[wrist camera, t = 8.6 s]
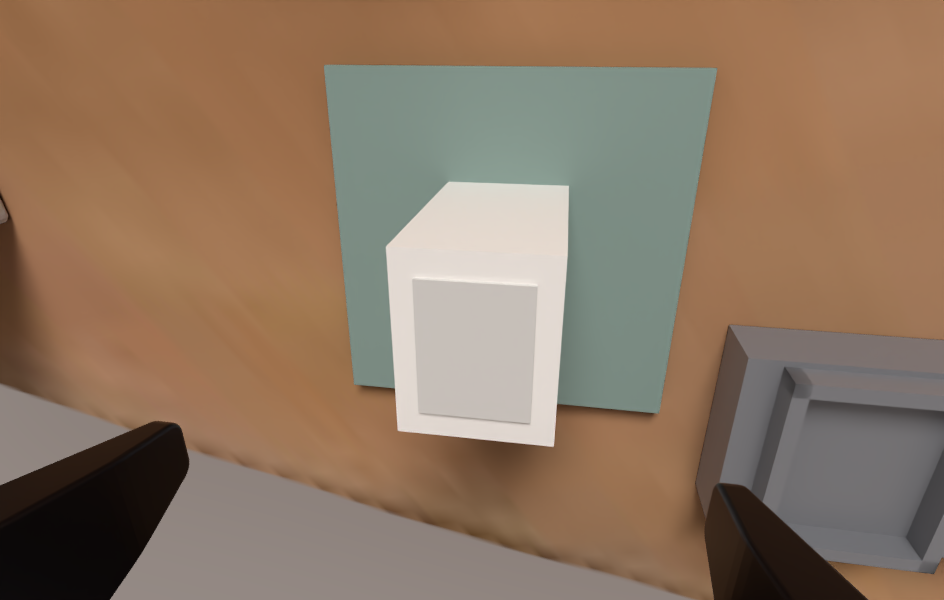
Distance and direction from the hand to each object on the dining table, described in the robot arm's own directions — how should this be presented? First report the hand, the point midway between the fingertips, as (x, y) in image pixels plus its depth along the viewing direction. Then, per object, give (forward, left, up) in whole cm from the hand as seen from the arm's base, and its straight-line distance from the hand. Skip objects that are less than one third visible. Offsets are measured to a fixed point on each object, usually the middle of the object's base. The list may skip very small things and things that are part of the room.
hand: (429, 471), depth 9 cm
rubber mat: (0, 0, -12) cm, 12 cm away
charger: (0, 0, -11) cm, 11 cm away
